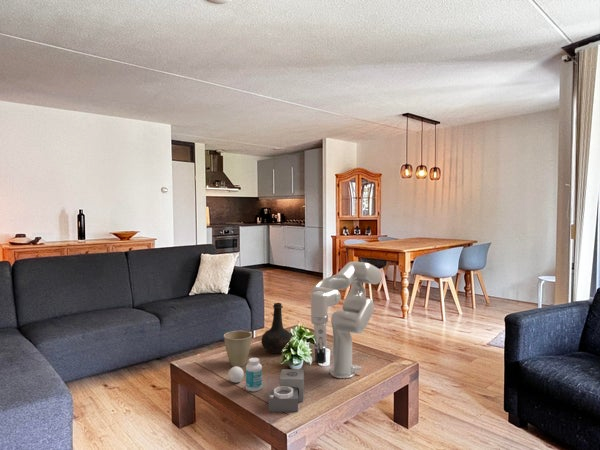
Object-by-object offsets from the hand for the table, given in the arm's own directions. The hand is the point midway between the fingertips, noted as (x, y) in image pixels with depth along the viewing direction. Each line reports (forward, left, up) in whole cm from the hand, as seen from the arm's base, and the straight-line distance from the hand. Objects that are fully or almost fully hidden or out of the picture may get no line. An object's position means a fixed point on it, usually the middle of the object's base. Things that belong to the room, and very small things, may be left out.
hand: (320, 357), depth 177 cm
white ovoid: (+41, -9, -15) cm, 44 cm away
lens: (0, 0, -2) cm, 2 cm away
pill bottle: (+31, -1, -15) cm, 34 cm away
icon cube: (+13, +7, -15) cm, 21 cm away
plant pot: (+42, -29, -15) cm, 53 cm away
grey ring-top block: (+17, +16, -15) cm, 27 cm away
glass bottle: (+22, -48, -15) cm, 55 cm away
